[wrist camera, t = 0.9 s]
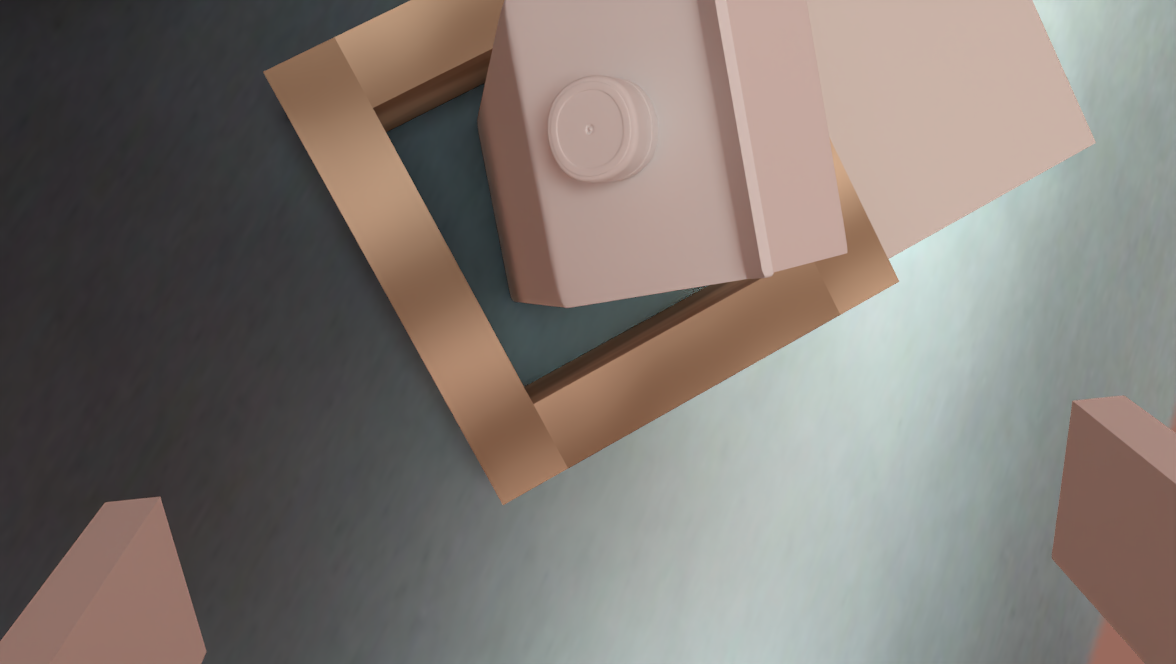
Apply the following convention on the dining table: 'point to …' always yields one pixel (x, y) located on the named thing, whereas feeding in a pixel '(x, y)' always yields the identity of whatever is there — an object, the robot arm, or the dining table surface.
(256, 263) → the dining table surface
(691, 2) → the milk carton
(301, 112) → the frame
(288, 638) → the dining table surface
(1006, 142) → the pink mat
